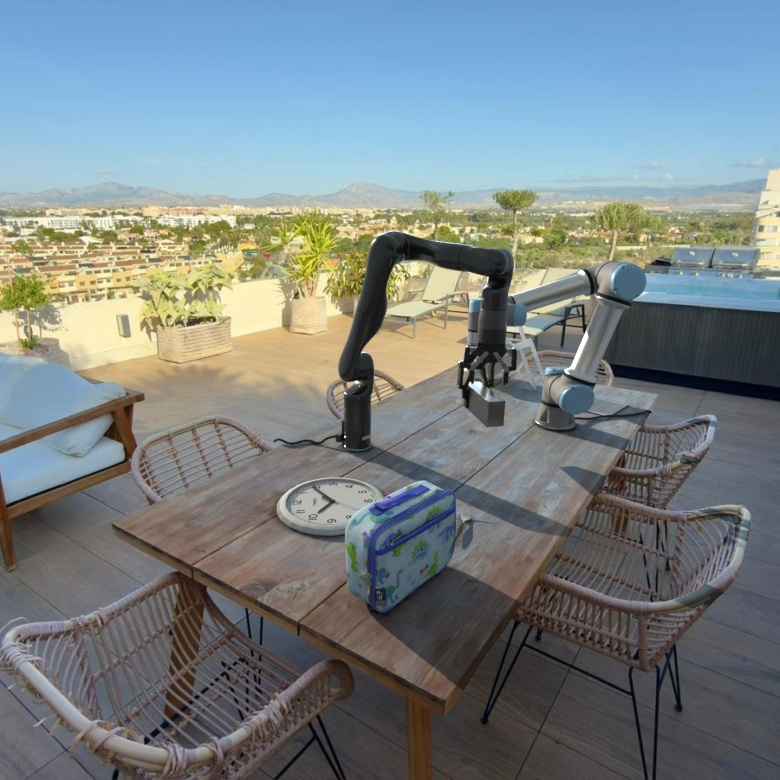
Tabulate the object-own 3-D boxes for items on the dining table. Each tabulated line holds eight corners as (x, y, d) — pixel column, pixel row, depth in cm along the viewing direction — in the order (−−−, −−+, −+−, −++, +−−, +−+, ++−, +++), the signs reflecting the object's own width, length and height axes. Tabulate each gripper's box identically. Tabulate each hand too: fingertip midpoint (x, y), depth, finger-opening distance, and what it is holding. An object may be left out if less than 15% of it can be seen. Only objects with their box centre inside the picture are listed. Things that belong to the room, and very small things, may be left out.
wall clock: (392, 527, 129) (268, 531, 127) (391, 533, 130) (269, 537, 127) (383, 473, 158) (282, 475, 155) (383, 478, 158) (282, 480, 156)
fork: (449, 542, 127) (449, 535, 126) (463, 510, 141) (464, 504, 140) (459, 544, 126) (460, 537, 125) (473, 512, 140) (473, 506, 139)
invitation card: (608, 416, 214) (573, 407, 224) (608, 416, 214) (573, 408, 224) (628, 404, 229) (594, 396, 238) (628, 405, 229) (594, 397, 238)
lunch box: (374, 626, 100) (375, 530, 93) (338, 598, 107) (337, 508, 101) (459, 568, 117) (465, 484, 111) (424, 547, 124) (427, 467, 118)
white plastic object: (482, 418, 266) (461, 395, 241) (463, 346, 288) (443, 318, 264) (553, 394, 254) (538, 368, 229) (528, 321, 276) (512, 289, 251)
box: (463, 405, 190) (464, 382, 188) (478, 404, 192) (479, 381, 189) (487, 427, 170) (488, 401, 167) (503, 426, 171) (505, 400, 168)
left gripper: (465, 327, 137) (462, 386, 141) (521, 329, 135) (515, 389, 140) (465, 322, 144) (461, 379, 149) (518, 324, 142) (512, 381, 147)
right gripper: (455, 346, 176) (452, 411, 182) (507, 344, 179) (502, 408, 186) (448, 342, 183) (445, 404, 189) (498, 339, 186) (494, 401, 193)
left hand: (488, 384), depth 144 cm, fingers open, 8 cm apart
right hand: (474, 406), depth 188 cm, fingers closed on box, 6 cm apart
